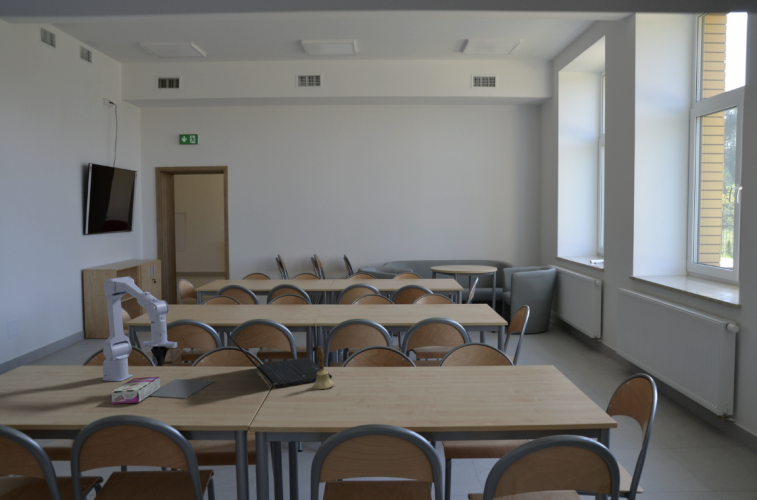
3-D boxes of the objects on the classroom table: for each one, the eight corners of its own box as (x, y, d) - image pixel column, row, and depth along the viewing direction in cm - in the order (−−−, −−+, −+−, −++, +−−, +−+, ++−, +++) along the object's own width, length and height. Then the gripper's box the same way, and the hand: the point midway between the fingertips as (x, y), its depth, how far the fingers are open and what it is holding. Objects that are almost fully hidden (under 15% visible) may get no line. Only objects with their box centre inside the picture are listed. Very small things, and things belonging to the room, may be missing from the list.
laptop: (332, 380, 221) (331, 333, 219) (240, 396, 205) (237, 346, 204) (308, 360, 251) (306, 319, 249) (226, 372, 235) (223, 329, 234)
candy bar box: (135, 390, 216) (110, 404, 199) (134, 377, 215) (109, 391, 199) (161, 388, 214) (139, 402, 198) (160, 376, 214) (137, 389, 198)
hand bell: (337, 385, 212) (333, 345, 210) (319, 391, 207) (315, 350, 205) (327, 380, 218) (323, 342, 217) (309, 386, 213) (304, 347, 212)
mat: (144, 396, 207) (144, 395, 207) (175, 379, 226) (175, 378, 226) (185, 398, 203) (185, 397, 203) (214, 381, 222) (214, 380, 222)
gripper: (136, 333, 213) (138, 366, 214) (168, 334, 209) (170, 368, 210) (148, 329, 219) (150, 361, 220) (179, 330, 216) (181, 363, 217)
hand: (161, 364), depth 216 cm, fingers closed
